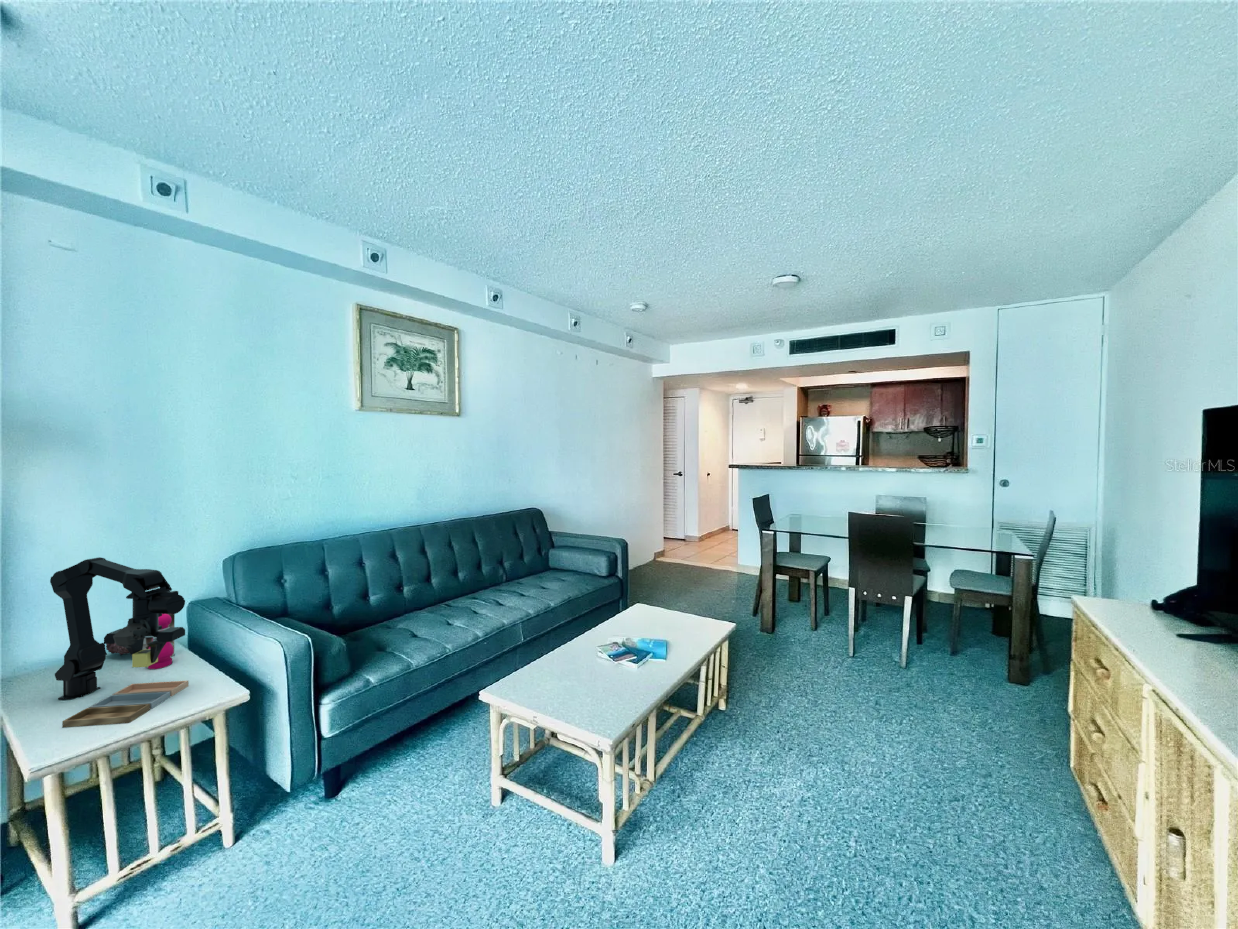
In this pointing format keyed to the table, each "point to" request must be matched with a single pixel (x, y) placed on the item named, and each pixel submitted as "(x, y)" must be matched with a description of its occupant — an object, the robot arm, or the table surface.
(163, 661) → the pepper mill
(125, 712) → the tray
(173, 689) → the tray
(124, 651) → the pine cone
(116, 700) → the tray
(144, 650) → the letter cube
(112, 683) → the table surface
